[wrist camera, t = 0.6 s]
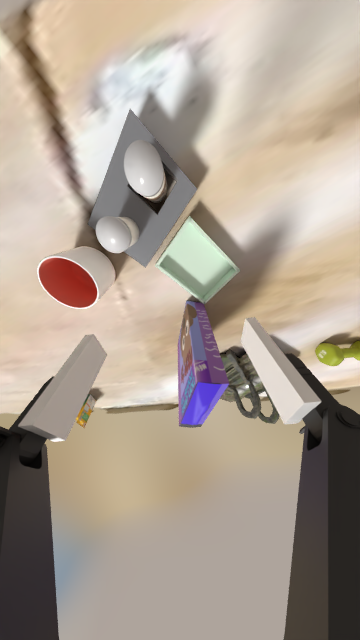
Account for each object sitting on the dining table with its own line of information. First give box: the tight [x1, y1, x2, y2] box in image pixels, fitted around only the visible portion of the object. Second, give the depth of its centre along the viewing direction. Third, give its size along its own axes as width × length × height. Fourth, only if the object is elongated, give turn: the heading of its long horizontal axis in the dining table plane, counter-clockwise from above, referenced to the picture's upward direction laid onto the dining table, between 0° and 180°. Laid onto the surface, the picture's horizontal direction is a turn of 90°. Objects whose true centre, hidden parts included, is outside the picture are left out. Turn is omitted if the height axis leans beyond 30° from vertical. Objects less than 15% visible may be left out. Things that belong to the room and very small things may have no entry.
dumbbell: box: [315, 341, 360, 366], centre depth 49 cm, size 16×8×7 cm, turn 94°
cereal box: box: [178, 301, 229, 427], centre depth 34 cm, size 17×5×24 cm, turn 171°
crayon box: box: [76, 394, 96, 428], centre depth 65 cm, size 7×3×12 cm, turn 2°
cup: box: [37, 246, 115, 309], centre depth 29 cm, size 10×10×10 cm
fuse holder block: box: [88, 109, 197, 268], centre depth 22 cm, size 12×16×11 cm
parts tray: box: [155, 216, 240, 305], centre depth 32 cm, size 15×11×3 cm
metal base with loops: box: [220, 350, 279, 424], centre depth 53 cm, size 35×34×18 cm
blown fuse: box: [124, 140, 167, 203], centre depth 21 cm, size 4×4×11 cm
